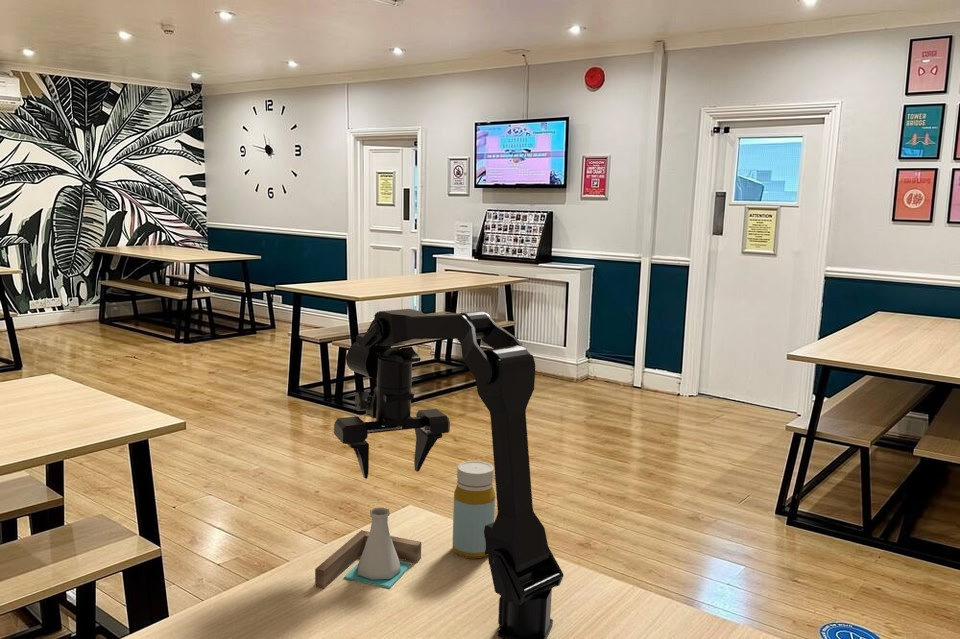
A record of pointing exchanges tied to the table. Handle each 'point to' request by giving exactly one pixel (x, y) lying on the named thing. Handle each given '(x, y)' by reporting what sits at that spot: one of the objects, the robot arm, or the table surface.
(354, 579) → the pad
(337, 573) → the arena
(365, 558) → the flask
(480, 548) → the bottle
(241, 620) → the table surface
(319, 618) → the table surface
